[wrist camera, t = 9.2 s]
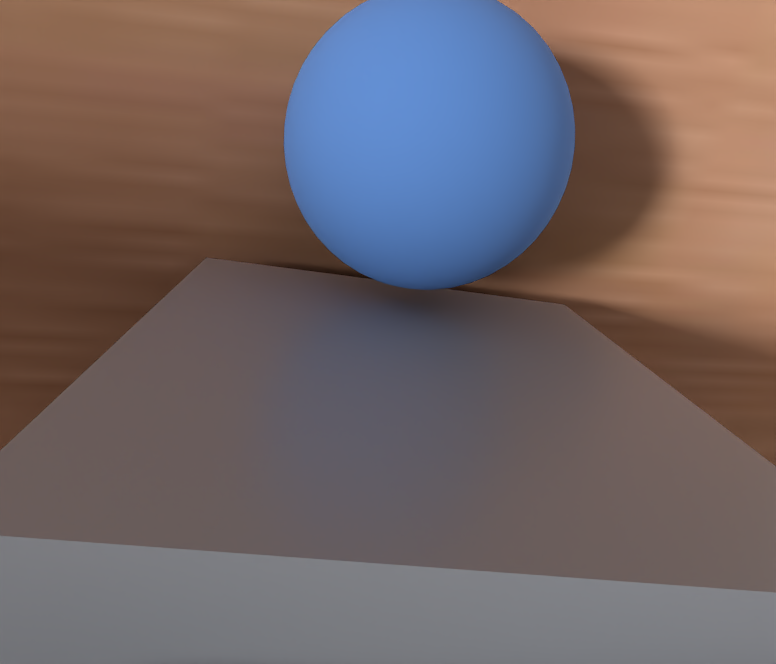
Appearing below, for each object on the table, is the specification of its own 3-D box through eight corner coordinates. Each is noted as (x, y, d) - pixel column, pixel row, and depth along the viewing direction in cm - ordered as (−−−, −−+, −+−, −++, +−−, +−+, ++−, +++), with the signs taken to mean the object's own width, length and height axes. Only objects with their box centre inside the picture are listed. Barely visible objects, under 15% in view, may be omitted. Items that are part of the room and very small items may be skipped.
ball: (468, 343, 8) (551, -86, 7) (209, 265, 10) (232, -60, 9) (572, 303, 12) (636, 35, 11) (371, 254, 14) (401, 31, 13)
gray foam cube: (492, 587, 15) (672, 1122, 7) (188, 566, 14) (-17, 1152, 6) (564, 304, 13) (957, 606, 5) (206, 257, 12) (-85, 529, 4)
